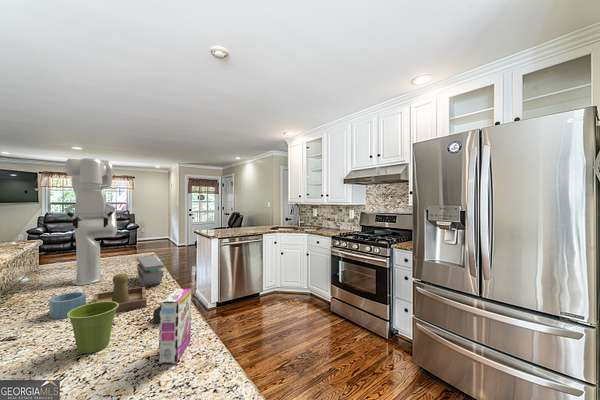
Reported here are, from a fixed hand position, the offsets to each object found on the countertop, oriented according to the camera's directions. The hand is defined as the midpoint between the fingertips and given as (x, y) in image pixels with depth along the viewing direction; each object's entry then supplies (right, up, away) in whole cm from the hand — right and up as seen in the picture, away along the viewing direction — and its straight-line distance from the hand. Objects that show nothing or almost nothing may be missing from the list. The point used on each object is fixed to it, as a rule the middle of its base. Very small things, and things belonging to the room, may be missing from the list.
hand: (91, 227), depth 113 cm
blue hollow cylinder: (+3, -30, -14) cm, 34 cm away
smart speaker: (+42, -31, -18) cm, 55 cm away
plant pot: (+30, -31, -36) cm, 56 cm away
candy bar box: (+55, -32, -38) cm, 74 cm away
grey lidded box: (+13, -31, +22) cm, 40 cm away
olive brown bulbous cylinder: (+16, -30, -6) cm, 34 cm away
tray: (+16, -31, -6) cm, 35 cm away
